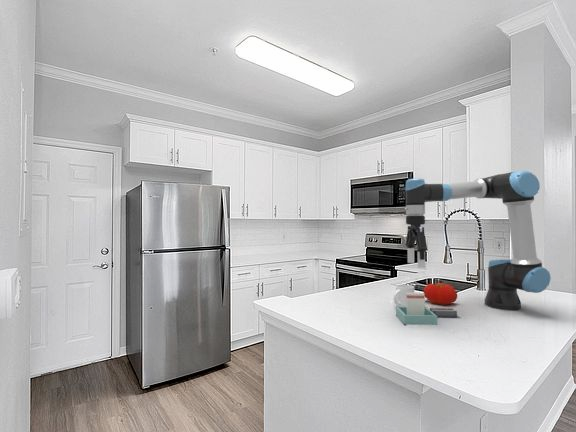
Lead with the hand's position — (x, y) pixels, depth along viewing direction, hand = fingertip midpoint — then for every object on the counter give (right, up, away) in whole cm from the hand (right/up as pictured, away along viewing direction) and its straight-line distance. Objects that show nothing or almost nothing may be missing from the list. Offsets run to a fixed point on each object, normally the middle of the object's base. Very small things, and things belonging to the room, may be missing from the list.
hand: (415, 265), depth 137 cm
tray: (0, -24, 0) cm, 24 cm away
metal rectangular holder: (+14, -24, +5) cm, 28 cm away
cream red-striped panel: (0, -23, 0) cm, 23 cm away
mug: (+1, -24, +19) cm, 31 cm away
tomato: (+23, -24, +27) cm, 43 cm away
